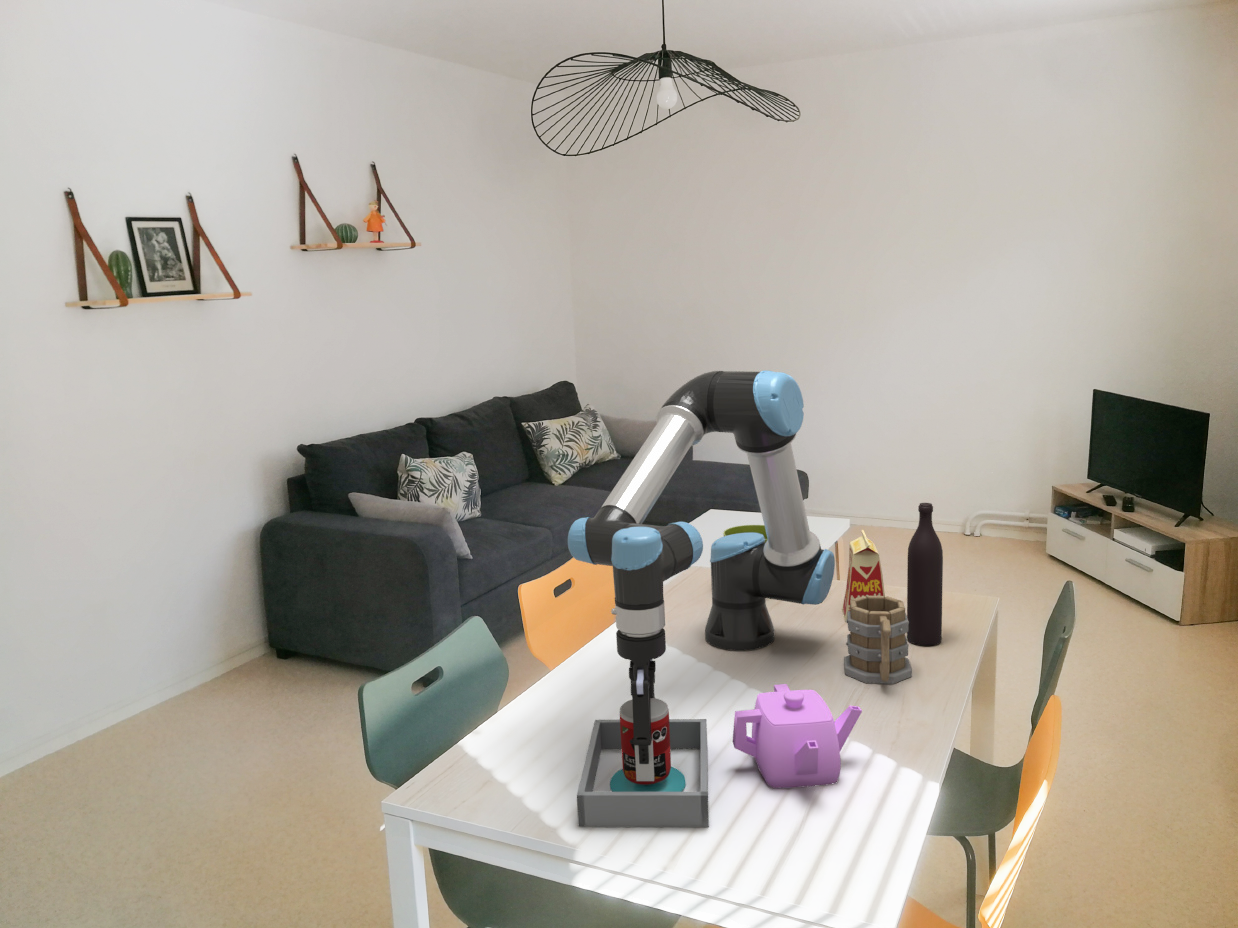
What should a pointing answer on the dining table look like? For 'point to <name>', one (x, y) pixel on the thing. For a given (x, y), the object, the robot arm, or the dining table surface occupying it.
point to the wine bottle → (924, 582)
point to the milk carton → (863, 572)
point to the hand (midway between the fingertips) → (647, 765)
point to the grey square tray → (640, 801)
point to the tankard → (877, 640)
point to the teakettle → (794, 737)
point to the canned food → (658, 734)
